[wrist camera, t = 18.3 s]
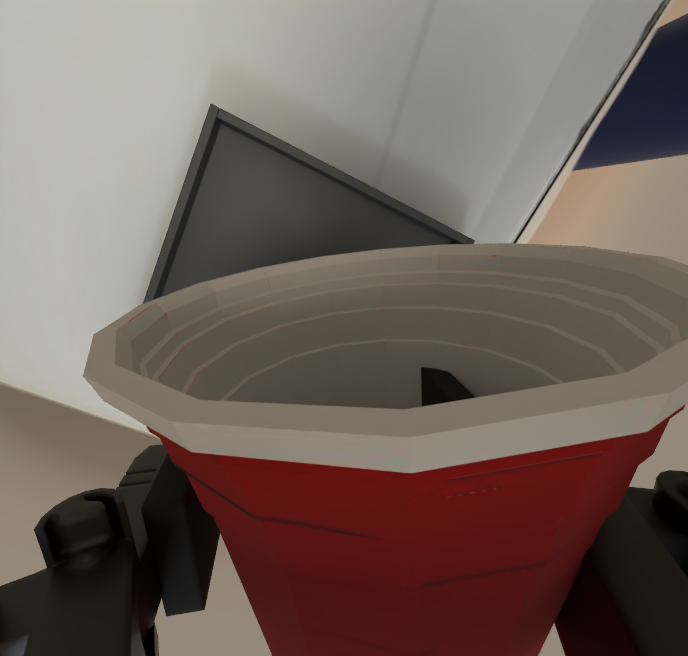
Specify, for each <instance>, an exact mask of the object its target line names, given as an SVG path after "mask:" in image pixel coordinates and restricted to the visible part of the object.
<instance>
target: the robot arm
mask: <svg viewBox="0 0 688 656" xmlns="http://www.w3.org/2000/svg"><path fill="white" fill-rule="evenodd" d="M421 389H422V407H423V406H429V405H435V404H441V403H447V402H453V401H459V400H465V399H471V398H476V397H475V396H474V395H473V394H472V393H471V392H470V391H469V390H468V389H467V388H466V387H464V386H463V385H462V384H461V383H460V382H459V381H458V380H457V379H456V378H455V377H454V376H453V375H452V374H451V373H450V372H447V371H443V370H439V369H435V368H427V367H421ZM34 531H35V534H36V537H37V540H38V543H39V545H40V548H41V551H42V554H43V557H44V560H45V563H46V566H47V568H46V569H44V570H41V571H39V572H37V573H35V574H32V575H29V576H27V577H24V578H22V579H18V580H16V581H13V582H10V583H8V584H5V585H2V586H0V656H159V649H158V634H157V630H156V626H155V622H154V620H155V617H156V614H157V610H158V607H159V604H160V601H161V598H162V600H163V605H164V609H165V613H166V616H171V615H176V614H183V613H189V612H195V611H201V610H205V605H206V600H207V595H208V589H209V585H210V580H211V575H212V570H213V565H214V560H215V555H216V550H217V545H218V540H219V535H220V531H219V528H218V526H217V524H216V521H215V519H214V517H213V516H212V515H210V514H209V513H208V512H206V511H205V510H204V509H203V507H202V505H201V503H200V501H199V499H198V497H197V495H196V493H195V491H194V489H193V487H192V485H191V483H190V481H189V479H188V477H187V475H186V473H185V472H183V471H182V470H180V469H179V468H177V467H176V466H175V465H174V464H173V462H172V460H171V458H170V456H169V454H168V452H167V451H166V449H165V447H164V445H163V444H162V445H153V446H149V447H148V448H147V449H146V450H144V451H143V452H142V453H141V454H140V455H138V456H137V457H136V458H135V459H134V461H133V462H132V464H131V465H130V467H129V469H128V471H127V472H126V475H124V477H123V479H122V480H121V482H120V484H119V487H117V488H116V490H115V489H107V488H100V489H95V490H90V491H85V492H82V493H80V494H77V495H75V496H72V497H70V498H68V499H66V500H65V501H63V502H61V503H59V504H58V505H56V506H54V507H53V508H52V509H51V510H50V511H49V512H47V513H46V514H45V515H44V516H43V517H42V518H41V519H40V521H39V522H38V524H37V526H36V527H35V529H34ZM554 623H555V626H556V629H557V632H558V635H559V638H560V641H561V643H562V647H563V650H564V652H565V655H566V656H688V472H684V471H670V470H669V471H665V472H661V473H660V474H659V475H658V477H657V478H656V482H655V486H654V489H645V488H636V487H628V489H627V491H626V493H625V495H624V497H623V500H622V502H621V504H620V506H619V508H618V509H617V510H616V511H615V512H613V513H612V514H611V515H610V516H608V517H607V518H606V519H605V520H604V522H603V524H602V526H601V528H600V530H599V532H598V534H597V536H596V538H595V540H594V542H593V544H592V546H591V547H590V548H589V549H588V550H587V553H586V555H585V557H584V560H583V562H582V565H581V567H580V570H579V572H578V575H577V577H576V579H575V581H574V583H573V585H572V587H571V589H570V591H569V593H568V595H567V597H566V599H565V601H564V603H563V605H562V607H561V609H560V612H559V614H558V616H557V618H556V620H555V622H554Z"/></svg>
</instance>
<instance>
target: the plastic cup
mask: <svg viewBox="0 0 688 656" xmlns="http://www.w3.org/2000/svg"><path fill="white" fill-rule="evenodd" d="M421 367H427V368H435V369H439V370H443V371H447V372H450V373H451V374H452V375H453V376H454V377H455V378H456V379H457V380H458V381H459V382H460V383H461V384H462V385H463V386H464V387H466V388H467V389H468V390H469V391H470V392H471V393H472V394H473V395H474V396H475V397H476V398H471V399H465V400H459V401H453V402H447V403H441V404H435V405H429V406H423V407H422V389H421ZM83 377H84V378H85V379H86V380H87V381H88V383H89V384H90V385H91V386H92V387H93V389H94V390H95V391H96V392H97V393H98V394H99V396H100V397H101V398H102V399H103V400H104V401H105V402H107V403H108V404H110V405H112V406H113V407H115V408H117V409H119V410H120V411H122V412H124V413H125V414H127V415H129V416H131V417H132V418H134V419H136V420H137V421H139V422H141V423H143V424H144V425H146V426H147V428H148V430H149V432H151V433H152V434H154V435H156V436H157V437H159V438H160V439H161V441H162V443H163V445H164V447H165V449H166V451H167V452H168V454H169V456H170V458H171V460H172V462H173V464H174V465H175V466H176V467H177V468H179V469H180V470H182V471H183V472H185V473H186V475H187V477H188V479H189V481H190V483H191V485H192V487H193V489H194V491H195V493H196V495H197V497H198V499H199V501H200V503H201V505H202V507H203V509H204V510H205V511H206V512H208V513H209V514H210V515H212V516H213V517H214V519H215V521H216V524H217V526H218V528H219V531H220V533H221V535H222V538H223V540H224V543H225V545H226V547H227V549H228V552H229V554H230V557H231V559H232V561H233V564H234V566H235V569H236V571H237V573H238V576H239V578H240V580H241V582H242V585H243V587H244V590H245V592H246V594H247V597H248V599H249V602H250V604H251V606H252V609H253V611H254V613H255V616H256V618H257V620H258V623H259V625H260V627H261V630H262V632H263V635H264V637H265V639H266V642H267V644H268V646H269V649H270V651H271V653H272V656H538V654H539V652H540V650H541V648H542V646H543V644H544V642H545V640H546V638H547V636H548V634H549V632H550V630H551V627H552V626H553V624H554V622H555V620H556V618H557V616H558V614H559V612H560V609H561V607H562V605H563V603H564V601H565V599H566V597H567V595H568V593H569V591H570V589H571V587H572V585H573V583H574V581H575V579H576V577H577V575H578V572H579V570H580V567H581V565H582V562H583V560H584V557H585V555H586V553H587V550H588V549H589V548H590V547H591V546H592V544H593V542H594V540H595V538H596V536H597V534H598V532H599V530H600V528H601V526H602V524H603V522H604V520H605V519H606V518H607V517H608V516H610V515H611V514H612V513H613V512H615V511H616V510H617V509H618V508H619V506H620V504H621V502H622V500H623V497H624V495H625V493H626V491H627V489H628V487H629V485H630V482H631V480H632V478H633V476H634V474H635V472H636V469H637V467H638V465H639V464H641V463H642V462H643V461H645V460H646V459H647V458H648V457H650V456H651V455H653V453H654V451H655V449H656V447H657V445H658V443H659V441H660V438H661V436H662V434H663V432H664V430H665V428H666V426H667V423H668V421H669V419H670V418H672V417H673V416H674V415H676V414H677V413H679V412H680V411H681V410H683V409H684V406H685V405H686V403H688V265H686V264H682V263H679V262H676V261H673V260H670V259H667V258H664V257H657V256H650V255H643V254H636V253H629V252H621V251H613V250H606V249H599V248H591V247H584V246H562V245H539V244H515V243H499V244H450V245H431V246H417V247H404V248H390V249H378V250H370V251H362V252H354V253H346V254H338V255H330V256H322V257H315V258H310V259H304V260H299V261H293V262H288V263H282V264H277V265H271V266H266V267H260V268H256V269H252V270H248V271H244V272H240V273H236V274H232V275H228V276H225V277H221V278H217V279H213V280H209V281H205V282H201V283H198V284H195V285H192V286H190V287H187V288H184V289H181V290H179V291H176V292H173V293H171V294H168V295H165V296H163V297H160V298H157V299H154V300H152V301H149V302H146V303H144V304H141V305H139V306H138V307H136V308H135V309H133V310H132V311H130V312H129V313H127V314H125V315H124V316H122V317H121V318H119V319H118V320H116V321H114V322H113V323H111V324H110V325H108V326H107V327H105V328H104V329H102V330H100V331H99V332H97V333H96V334H94V336H93V340H92V344H91V347H90V351H89V355H88V359H87V363H86V367H85V371H84V375H83Z"/></svg>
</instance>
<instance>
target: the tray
mask: <svg viewBox="0 0 688 656" xmlns="http://www.w3.org/2000/svg"><path fill="white" fill-rule="evenodd" d="M474 242H475V241H474V240H473V239H471V238H469V237H467V236H465V235H463V234H461V233H459V232H457V231H455V230H454V229H452V228H450V227H448V226H446V225H444V224H442V223H440V222H438V221H436V220H434V219H432V218H430V217H429V216H427V215H425V214H423V213H421V212H419V211H417V210H415V209H413V208H411V207H409V206H407V205H405V204H404V203H402V202H400V201H398V200H396V199H394V198H392V197H390V196H388V195H386V194H384V193H382V192H380V191H378V190H377V189H375V188H373V187H371V186H369V185H367V184H365V183H363V182H361V181H359V180H357V179H355V178H353V177H352V176H350V175H348V174H346V173H344V172H342V171H340V170H338V169H336V168H334V167H332V166H330V165H328V164H326V163H325V162H323V161H321V160H319V159H317V158H315V157H313V156H311V155H309V154H307V153H305V152H303V151H301V150H300V149H298V148H296V147H294V146H292V145H290V144H288V143H286V142H284V141H282V140H280V139H278V138H276V137H275V136H273V135H271V134H269V133H267V132H265V131H263V130H261V129H259V128H257V127H255V126H253V125H251V124H249V123H248V122H246V121H244V120H242V119H240V118H238V117H236V116H234V115H232V114H230V113H228V112H226V111H224V110H223V109H219V107H217V106H215V105H213V104H210V107H209V110H208V113H207V116H206V119H205V122H204V125H203V128H202V131H201V134H200V137H199V140H198V143H197V146H196V149H195V151H194V154H193V157H192V160H191V163H190V166H189V169H188V172H187V175H186V178H185V181H184V184H183V187H182V190H181V193H180V196H179V199H178V202H177V205H176V207H175V210H174V213H173V216H172V219H171V222H170V225H169V228H168V231H167V234H166V237H165V240H164V243H163V246H162V249H161V252H160V255H159V258H158V261H157V264H156V266H155V269H154V272H153V275H152V278H151V281H150V284H149V287H148V290H147V293H146V296H145V299H144V302H143V304H144V303H146V302H149V301H152V300H154V299H157V298H160V297H163V296H165V295H168V294H171V293H173V292H176V291H179V290H181V289H184V288H187V287H190V286H192V285H195V284H198V283H201V282H205V281H209V280H213V279H217V278H221V277H225V276H228V275H232V274H236V273H240V272H244V271H248V270H252V269H256V268H260V267H266V266H271V265H277V264H282V263H288V262H293V261H299V260H304V259H310V258H315V257H322V256H330V255H338V254H346V253H354V252H362V251H370V250H378V249H390V248H404V247H417V246H431V245H450V244H473V243H474Z"/></svg>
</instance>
